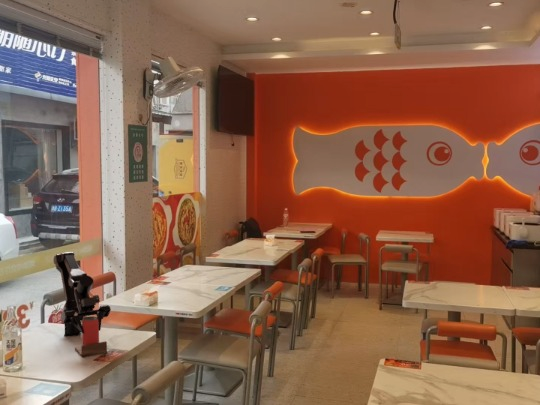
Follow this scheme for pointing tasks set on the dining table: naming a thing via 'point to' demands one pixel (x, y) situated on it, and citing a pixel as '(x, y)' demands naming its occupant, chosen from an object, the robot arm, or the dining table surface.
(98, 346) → the walnut backstop pad
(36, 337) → the dining table surface
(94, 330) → the beer can
